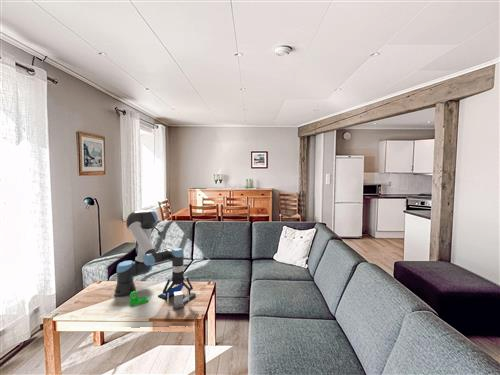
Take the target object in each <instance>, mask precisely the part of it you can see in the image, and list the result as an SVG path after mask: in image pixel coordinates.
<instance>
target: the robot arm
mask: <svg viewBox="0 0 500 375" xmlns="http://www.w3.org/2000/svg"><path fill="white" fill-rule="evenodd" d="M158 222H159V218H158V214H157V212H156V211H155V210H153V209H146V210H145V209H144V210H134V211H133V212H130V213H129V214H128V215H127V218H126V220H125V224H126V228H127V229H128V231H129V232H131V234H132V235H133V237H134V239H135V240H136V243H137V244H138V246H137V256H135V257H134V258H135V259H134V261H133V260H124V261H122V262H119V263H118V264H117V266H116V285H115V289H114V295H115V296H117V297H126V296H130V294H131V293H132V292H133V291H136V292H137V287H136V284H135V282H134V281H135V280H134V278H135V277H138V276H142V275H146V274H149V273H150V272H151V271H152V270H153V267H154V265H156V264H159V263H163V262H166V261H170V262H172V263H171V267H172V268H171V271H172V277H171V278H167V281H166V283H165V285H164V288H163V290H162V293H163V294H164V293H165V294H166V298H167V299H166V301H167V302H166V303H167V304H169V302H170V301H169V300H170V298H169V293H168V292H169V291H170V290H171V288H173V287H175V286H178V285H180V284H183V285H184V286H183V287H185V288H186V294H187V295H186V297H187V300H189V295H190V294H191V291H192V290H193V289H194V288H193V285H192V283H191V282H190V280H189V277H188V275H187V276H185V273H184V272H185V271H184V258H185V256H184V255H185V254H184V249H183V248H181V247H175V248H168V247H165V248H163V249H162V250H159V251H157V250H156V249H155V248H154V245H153V244H152V242H151V238H152V230H153V229H154V227H155V225H156V224H158ZM184 281H186V282H187V284H188V285H187V284H186V282H184ZM170 283H171V284H170ZM189 301H190V300H189Z"/></svg>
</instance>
